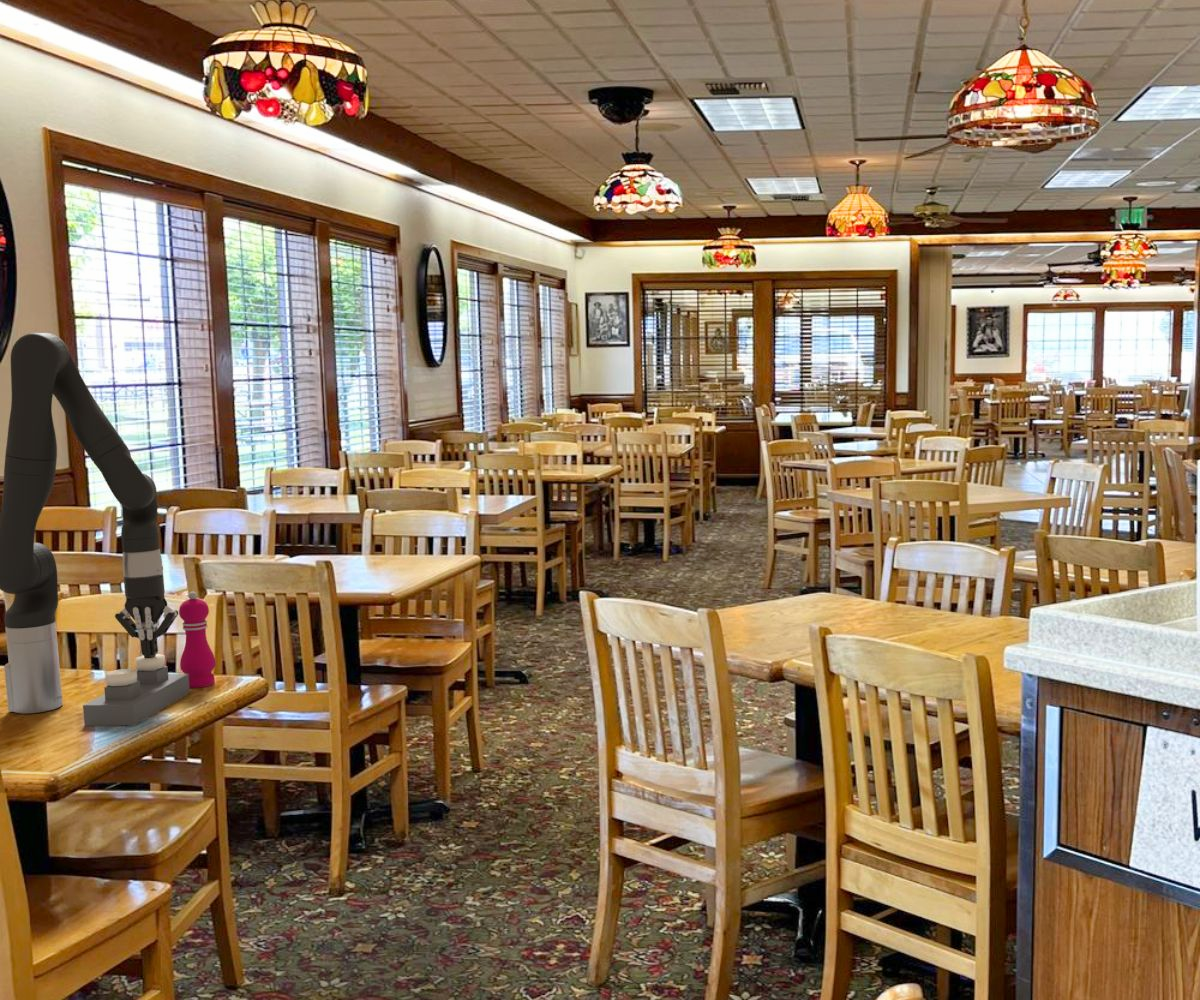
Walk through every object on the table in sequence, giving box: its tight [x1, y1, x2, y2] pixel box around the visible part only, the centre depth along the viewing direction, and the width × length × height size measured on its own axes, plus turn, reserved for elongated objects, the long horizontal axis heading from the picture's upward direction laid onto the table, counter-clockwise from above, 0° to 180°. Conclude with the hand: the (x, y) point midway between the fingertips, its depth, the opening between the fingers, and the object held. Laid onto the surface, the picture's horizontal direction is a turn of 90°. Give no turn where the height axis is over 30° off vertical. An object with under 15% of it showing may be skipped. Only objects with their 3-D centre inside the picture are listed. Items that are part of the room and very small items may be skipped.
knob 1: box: [105, 668, 137, 686], centre depth 247 cm, size 6×6×4 cm
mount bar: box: [82, 665, 191, 727], centre depth 253 cm, size 10×24×6 cm, turn 173°
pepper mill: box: [178, 591, 217, 689], centre depth 271 cm, size 7×7×20 cm
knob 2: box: [134, 653, 166, 671], centre depth 259 cm, size 6×6×4 cm
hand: (150, 657), depth 259 cm, fingers closed
